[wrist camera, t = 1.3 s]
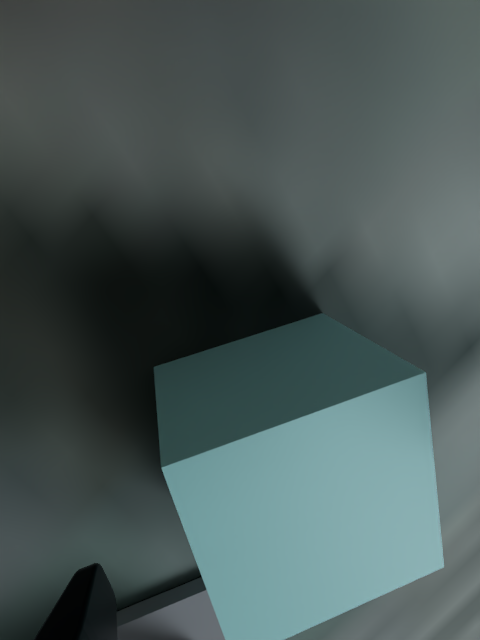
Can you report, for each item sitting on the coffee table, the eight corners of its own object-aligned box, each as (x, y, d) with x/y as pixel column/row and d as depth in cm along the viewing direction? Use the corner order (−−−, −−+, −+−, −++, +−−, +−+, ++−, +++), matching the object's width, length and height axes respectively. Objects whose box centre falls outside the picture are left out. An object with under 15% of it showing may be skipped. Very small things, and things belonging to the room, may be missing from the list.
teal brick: (321, 312, 11) (425, 372, 7) (346, 451, 13) (444, 566, 9) (153, 365, 11) (160, 467, 6) (201, 506, 12) (233, 662, 8)
